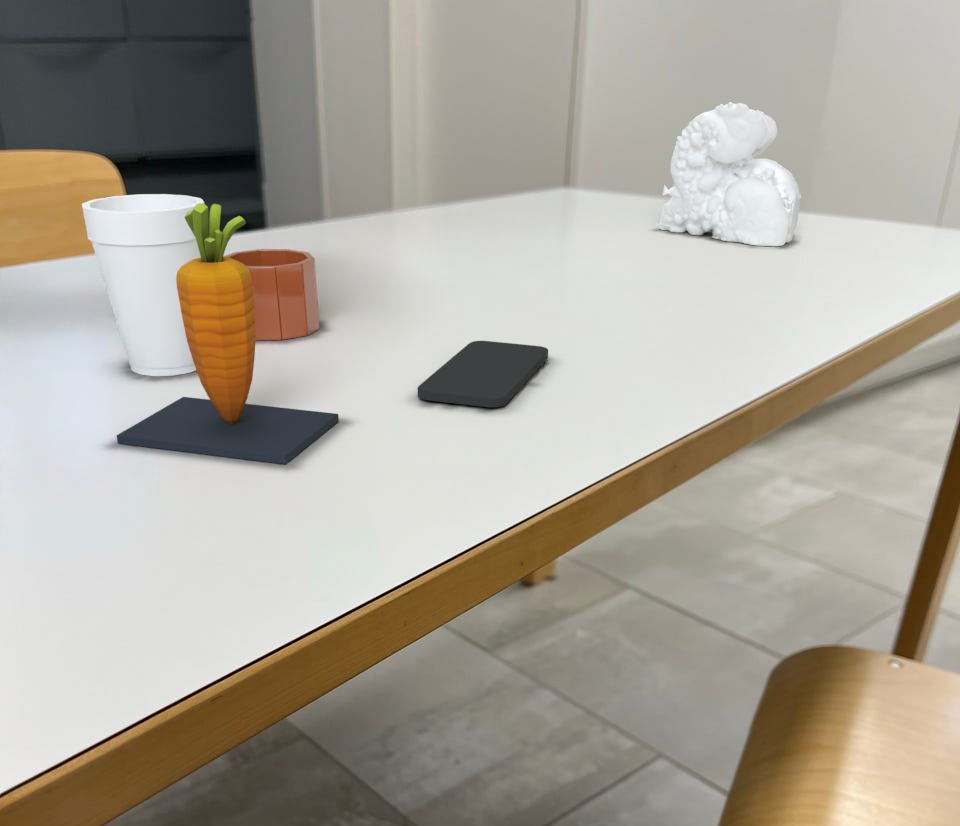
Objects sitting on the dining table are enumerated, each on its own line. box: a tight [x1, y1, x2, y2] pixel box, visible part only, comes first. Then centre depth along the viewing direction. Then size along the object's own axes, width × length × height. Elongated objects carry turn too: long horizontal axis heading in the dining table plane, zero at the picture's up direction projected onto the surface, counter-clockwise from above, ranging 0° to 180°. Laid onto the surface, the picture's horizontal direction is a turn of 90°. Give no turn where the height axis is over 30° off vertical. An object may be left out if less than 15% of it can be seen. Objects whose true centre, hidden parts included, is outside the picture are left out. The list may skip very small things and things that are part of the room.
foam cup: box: [81, 193, 205, 377], centre depth 85 cm, size 10×9×13 cm
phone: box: [417, 340, 549, 408], centre depth 85 cm, size 7×1×15 cm
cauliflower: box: [657, 101, 802, 247], centre depth 139 cm, size 19×20×20 cm
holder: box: [223, 248, 320, 341], centre depth 97 cm, size 8×9×6 cm
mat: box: [116, 396, 340, 465], centre depth 74 cm, size 13×9×1 cm
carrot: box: [176, 203, 257, 425], centre depth 70 cm, size 5×5×15 cm
